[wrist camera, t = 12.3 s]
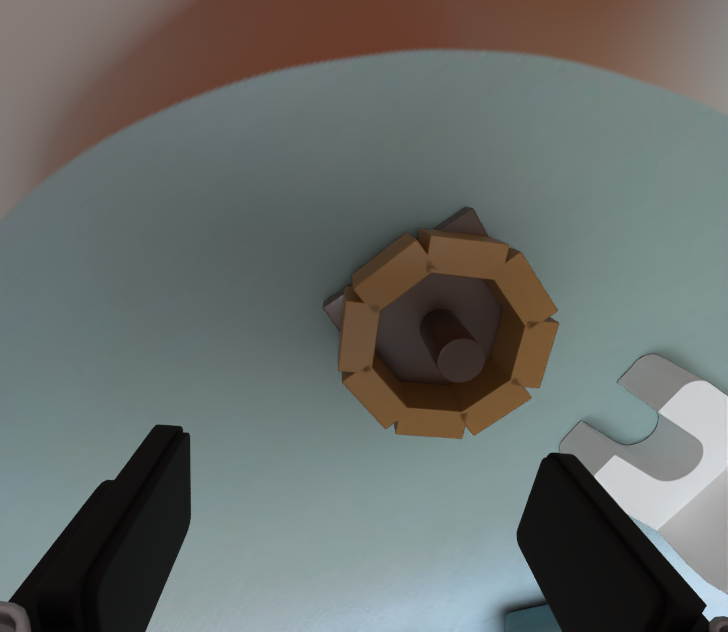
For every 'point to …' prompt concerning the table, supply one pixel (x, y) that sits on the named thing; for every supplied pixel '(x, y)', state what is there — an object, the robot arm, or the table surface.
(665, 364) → the white slotted bracket
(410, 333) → the peg stand
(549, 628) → the flower pot
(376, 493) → the table surface
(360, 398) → the segmented block ring
